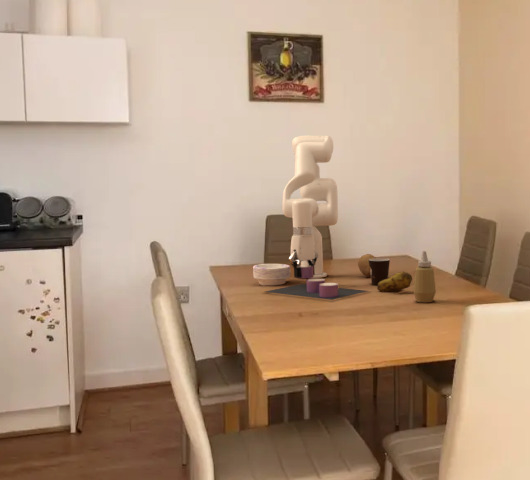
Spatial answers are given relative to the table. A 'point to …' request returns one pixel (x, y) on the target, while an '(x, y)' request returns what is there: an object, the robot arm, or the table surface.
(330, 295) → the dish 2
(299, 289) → the placemat
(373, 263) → the coffee mug
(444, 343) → the table surface
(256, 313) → the table surface
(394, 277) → the potato
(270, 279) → the paper bowls
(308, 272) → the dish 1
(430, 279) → the squeeze bottle
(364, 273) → the natural sponge
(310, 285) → the dish mid
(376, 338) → the table surface
